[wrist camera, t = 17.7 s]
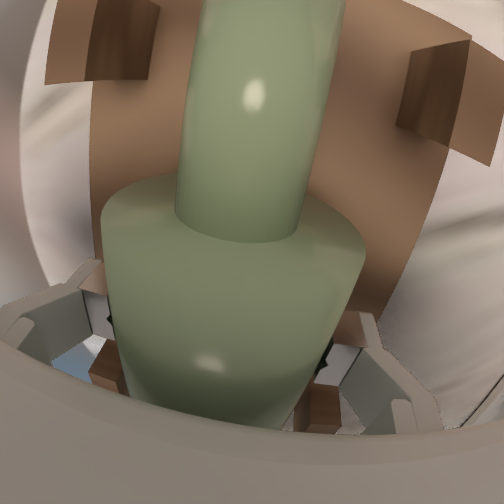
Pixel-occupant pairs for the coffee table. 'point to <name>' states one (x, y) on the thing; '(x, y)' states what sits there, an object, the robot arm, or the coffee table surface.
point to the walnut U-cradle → (331, 136)
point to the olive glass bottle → (236, 225)
